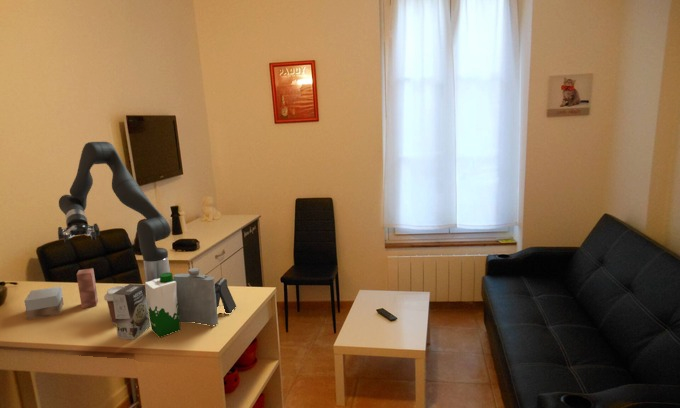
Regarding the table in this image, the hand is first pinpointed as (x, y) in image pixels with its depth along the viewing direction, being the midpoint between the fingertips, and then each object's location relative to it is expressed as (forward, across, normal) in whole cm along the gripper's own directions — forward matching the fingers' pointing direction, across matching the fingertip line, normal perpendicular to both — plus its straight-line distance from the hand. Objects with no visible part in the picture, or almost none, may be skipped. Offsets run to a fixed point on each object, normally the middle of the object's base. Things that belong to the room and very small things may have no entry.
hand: (80, 240), depth 169 cm
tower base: (+8, -14, +25) cm, 30 cm away
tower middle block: (+7, -14, +22) cm, 26 cm away
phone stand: (+46, +42, +10) cm, 63 cm away
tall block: (+11, +1, +23) cm, 26 cm away
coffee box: (+45, +11, +12) cm, 48 cm away
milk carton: (+50, +20, +10) cm, 55 cm away
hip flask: (+50, +32, +10) cm, 60 cm away
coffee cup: (+32, +9, +16) cm, 38 cm away
